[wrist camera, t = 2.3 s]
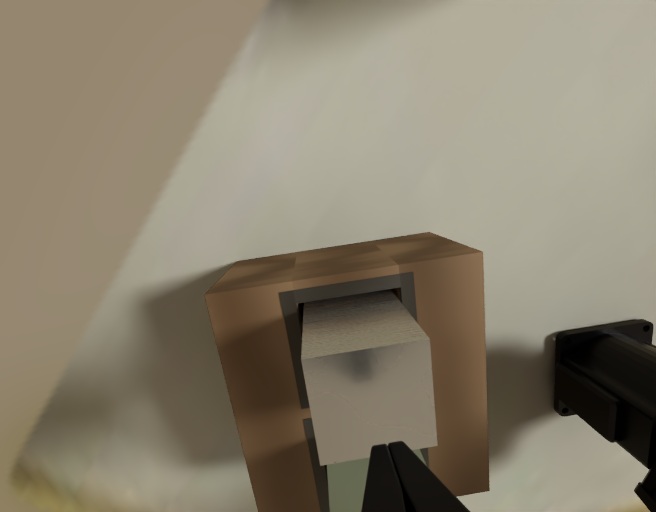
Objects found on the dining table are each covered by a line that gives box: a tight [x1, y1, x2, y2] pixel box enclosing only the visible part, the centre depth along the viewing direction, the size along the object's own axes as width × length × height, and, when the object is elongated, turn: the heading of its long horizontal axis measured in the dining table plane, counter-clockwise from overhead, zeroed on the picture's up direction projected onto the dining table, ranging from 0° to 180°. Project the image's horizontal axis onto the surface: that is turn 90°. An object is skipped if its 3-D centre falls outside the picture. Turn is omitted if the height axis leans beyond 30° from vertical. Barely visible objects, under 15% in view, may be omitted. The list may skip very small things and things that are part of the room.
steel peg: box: [301, 289, 438, 466], centre depth 13 cm, size 4×4×6 cm
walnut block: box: [205, 232, 489, 512], centre depth 17 cm, size 12×13×6 cm
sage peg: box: [327, 449, 426, 512], centre depth 14 cm, size 4×4×6 cm
